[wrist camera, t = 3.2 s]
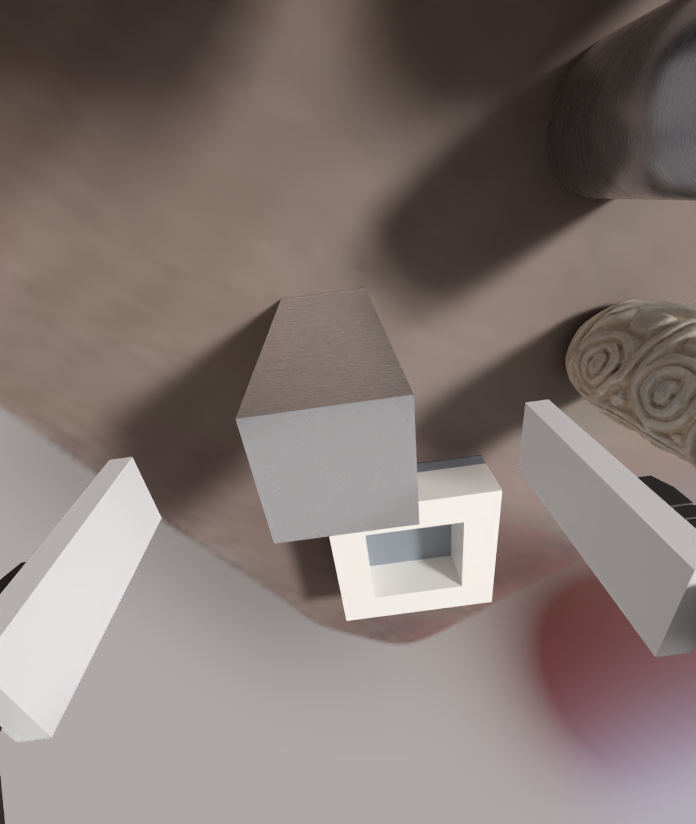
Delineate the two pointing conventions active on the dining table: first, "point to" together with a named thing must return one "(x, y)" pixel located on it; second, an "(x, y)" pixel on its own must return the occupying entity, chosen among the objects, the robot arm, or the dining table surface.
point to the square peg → (330, 422)
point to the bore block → (427, 547)
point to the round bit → (631, 111)
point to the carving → (641, 370)
